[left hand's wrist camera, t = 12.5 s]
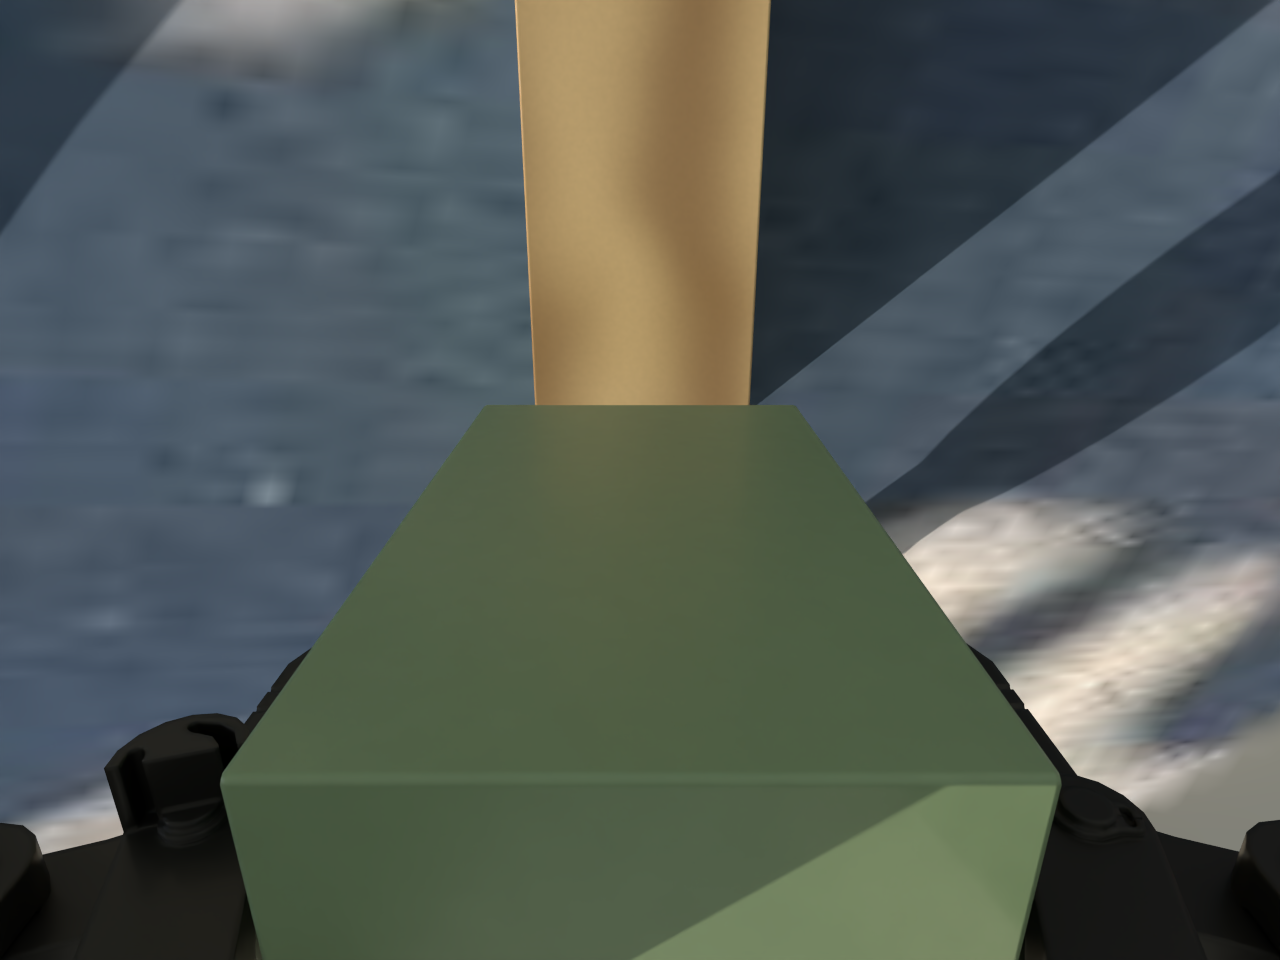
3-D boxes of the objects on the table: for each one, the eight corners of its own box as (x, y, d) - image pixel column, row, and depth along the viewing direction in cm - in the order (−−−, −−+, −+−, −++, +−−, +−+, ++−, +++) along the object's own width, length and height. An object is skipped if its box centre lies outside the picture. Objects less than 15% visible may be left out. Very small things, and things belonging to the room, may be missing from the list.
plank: (564, 434, 39) (540, 511, 30) (536, -331, 29) (485, -581, 19) (719, 435, 39) (744, 512, 30) (749, -331, 29) (802, -581, 19)
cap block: (503, 668, 17) (333, 1266, 8) (483, 403, 15) (211, 778, 5) (776, 668, 17) (946, 1266, 8) (796, 403, 15) (1069, 778, 5)
